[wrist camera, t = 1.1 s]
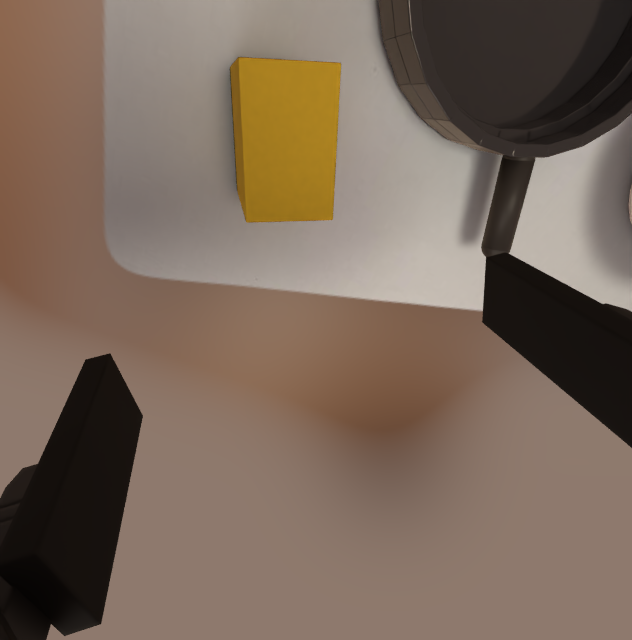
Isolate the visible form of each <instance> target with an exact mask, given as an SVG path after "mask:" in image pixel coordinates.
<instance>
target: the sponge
mask: <svg viewBox="0 0 632 640" xmlns="http://www.w3.org/2000/svg"><path fill="white" fill-rule="evenodd" d="M340 74H341V63H335V62H317V61H299V60H282V59H264V58H246V57H238V59H237V60H236V61H235V62H234V63H233V64H232V66H231V67H230V81H231V98H232V115H233V132H234V149H235V167H236V184H237V191H238V195H239V199H240V202H241V206H242V209H243V212H244V216H245V219H246V222H281V221H316V220H333V206H334V187H335V168H336V149H337V131H338V112H339V93H340Z"/></svg>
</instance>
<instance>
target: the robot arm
mask: <svg viewBox="0 0 632 640" xmlns="http://www.w3.org/2000/svg"><path fill="white" fill-rule="evenodd" d="M482 322H483V323H484V324H485V325H486V326H487V327H489V328H490V329H491V330H492V331H493V332H494V333H496V334H497V335H498V336H499V337H501V338H502V339H503V340H504V341H505V342H506V343H508V344H509V345H510V346H511V347H512V348H514V349H515V350H516V351H517V352H519V353H520V354H521V355H522V356H523V357H524V358H526V359H527V360H528V361H529V362H530V363H532V364H533V365H534V366H535V367H536V368H537V369H539V370H540V371H541V372H542V373H543V374H545V375H546V376H547V377H548V378H550V379H551V380H552V381H553V382H554V383H555V384H556V385H558V386H559V387H560V388H561V389H562V390H564V391H565V392H566V393H567V394H568V395H570V396H571V397H572V398H573V399H574V400H575V401H577V402H578V403H579V404H580V405H581V406H583V407H584V408H585V409H586V410H587V411H589V412H590V413H591V414H592V415H593V416H595V417H596V418H597V419H598V420H599V421H600V422H602V423H603V424H604V425H605V426H606V427H608V428H609V429H610V430H611V431H612V432H614V433H615V434H616V435H617V436H618V437H620V438H621V439H622V440H623V441H624V442H626V443H627V444H628V445H629V446H630V447H631V448H632V312H631V311H629V310H627V309H624V308H620V307H617V306H613V305H610V304H601V303H599V302H597V301H596V300H594V299H592V298H590V297H588V296H586V295H584V294H583V293H581V292H579V291H577V290H575V289H573V288H571V287H570V286H568V285H566V284H564V283H562V282H560V281H558V280H557V279H555V278H553V277H551V276H549V275H547V274H545V273H544V272H542V271H540V270H538V269H536V268H534V267H532V266H531V265H529V264H527V263H525V262H523V261H521V260H519V259H518V258H516V257H514V256H512V255H510V254H508V253H506V252H505V253H501V254H497V255H493V256H489V257H486V270H485V287H484V304H483V321H482ZM142 418H143V415H142V413H141V412H140V410H139V408H138V406H137V404H136V402H135V400H134V398H133V396H132V394H131V392H130V390H129V389H128V387H127V385H126V383H125V381H124V379H123V377H122V375H121V373H120V371H119V370H118V367H117V365H116V364H115V362H114V360H113V358H112V356H111V354H106V355H102V356H98V357H94V358H90V359H86V360H85V362H84V364H83V367H82V369H81V371H80V373H79V375H78V377H77V380H76V382H75V384H74V386H73V388H72V391H71V393H70V395H69V397H68V399H67V402H66V404H65V406H64V408H63V410H62V412H61V415H60V417H59V419H58V421H57V423H56V426H55V428H54V430H53V432H52V434H51V437H50V439H49V441H48V443H47V445H46V447H45V450H44V452H43V454H42V456H41V458H40V461H39V463H38V464H36V465H33V466H29V467H25V468H23V469H22V470H21V471H20V472H19V473H18V474H17V475H16V476H15V478H14V479H13V480H12V481H11V482H10V484H8V485H7V487H6V488H5V490H4V492H3V494H2V496H1V498H0V640H46V639H47V635H48V632H49V628H50V625H51V624H52V625H53V626H54V627H55V628H56V629H57V630H58V631H60V632H61V633H62V634H63V635H64V636H66V635H69V634H72V633H75V632H78V631H81V630H84V629H87V628H90V627H93V626H96V625H99V624H101V621H102V616H103V612H104V607H105V602H106V597H107V592H108V587H109V581H110V576H111V572H112V567H113V562H114V557H115V551H116V547H117V542H118V537H119V532H120V527H121V521H122V517H123V512H124V507H125V502H126V497H127V492H128V487H129V482H130V477H131V472H132V467H133V462H134V457H135V452H136V447H137V442H138V437H139V433H140V427H141V423H142Z"/></svg>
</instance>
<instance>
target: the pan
mask: <svg viewBox="0 0 632 640" xmlns="http://www.w3.org/2000/svg"><path fill="white" fill-rule="evenodd" d="M378 2H379V11H380V20H381V28H382V37H383V40H384V41H383V42H384V45H385V48H386V51H387V54H388V57H389V60H390V63H391V66H392V68H393V71H394V74H395V77H396V80H397V83H398V85H399V87H400V88H401V90H402V91H403V93H404V94H405V96H406V97H407V99H408V100H409V102H410V103H411V105H412V106H413V108H414V109H415V111H416V112H417V114H418V115H419V117H421V119H423V120H424V121H425V122H426V123H427V124H429V125H430V126H431V127H432V128H434V129H435V130H436V131H437V132H439V133H440V134H441V135H442V136H444V137H445V138H446V139H448V140H450V141H453V142H456V143H459V144H462V145H464V146H467V147H470V148H473V149H476V150H480V151H485V152H489V153H494V154H498V155H503V156H508V157H549V156H553V155H556V154H559V153H563V152H566V151H569V150H573V149H576V148H579V147H582V146H584V145H586V144H588V143H589V142H591V141H593V140H594V139H596V138H598V137H600V136H601V135H603V134H605V133H606V132H608V131H610V130H611V129H613V128H615V127H616V126H618V125H619V124H620V123H621V122H622V121H623V120H624V119H626V118H627V117H628V116H629V115H630V114H631V113H632V0H378Z"/></svg>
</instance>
